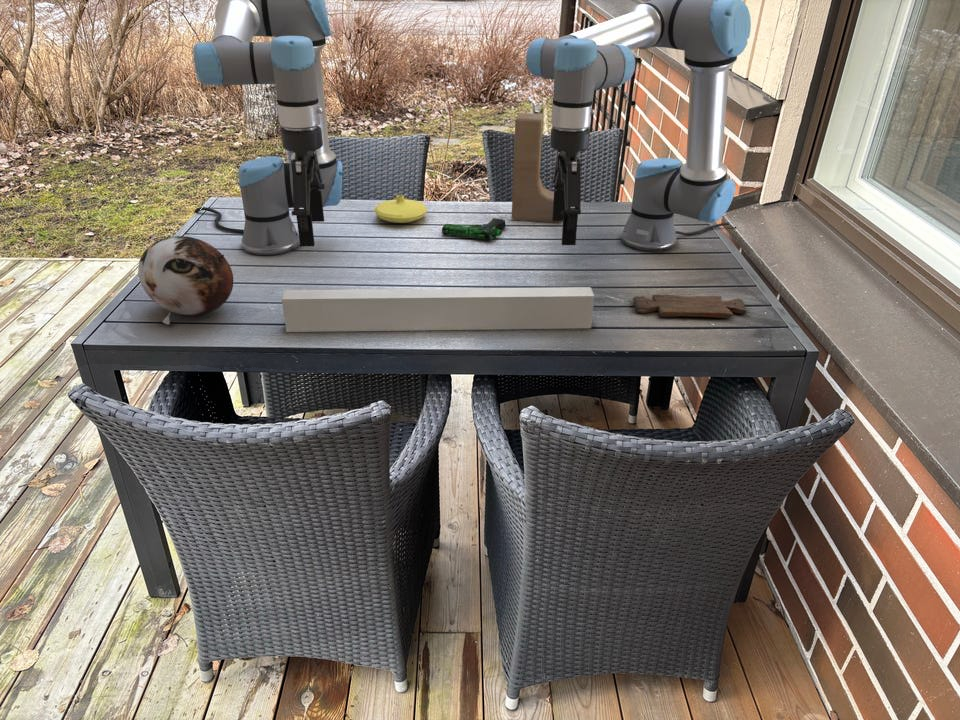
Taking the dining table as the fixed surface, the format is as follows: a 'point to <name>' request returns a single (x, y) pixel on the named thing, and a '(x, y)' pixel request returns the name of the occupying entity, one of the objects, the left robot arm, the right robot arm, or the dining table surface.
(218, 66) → the left robot arm
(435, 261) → the dining table surface
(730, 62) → the right robot arm
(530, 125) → the decorative block
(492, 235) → the handgun
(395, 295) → the beam
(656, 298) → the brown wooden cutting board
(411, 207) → the yellow pattypan squash
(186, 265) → the eye print balloon
